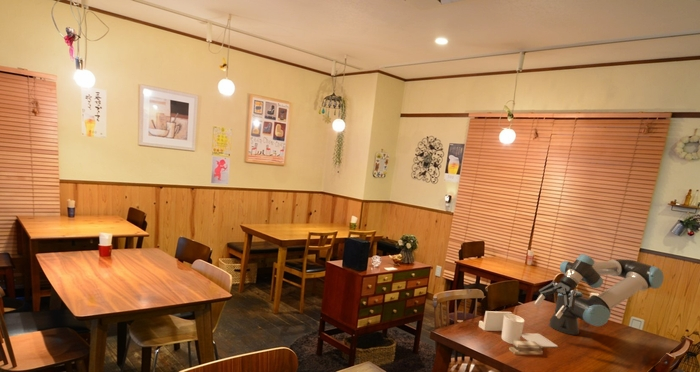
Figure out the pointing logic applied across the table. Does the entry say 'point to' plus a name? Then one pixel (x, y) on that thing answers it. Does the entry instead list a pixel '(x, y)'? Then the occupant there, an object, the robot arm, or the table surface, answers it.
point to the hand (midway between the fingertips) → (546, 310)
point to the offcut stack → (526, 347)
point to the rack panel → (493, 321)
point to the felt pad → (538, 339)
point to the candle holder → (512, 328)
